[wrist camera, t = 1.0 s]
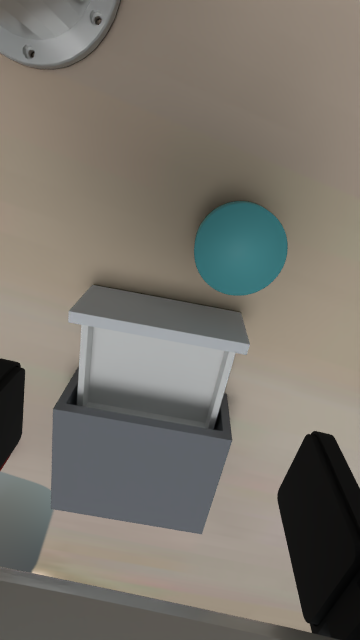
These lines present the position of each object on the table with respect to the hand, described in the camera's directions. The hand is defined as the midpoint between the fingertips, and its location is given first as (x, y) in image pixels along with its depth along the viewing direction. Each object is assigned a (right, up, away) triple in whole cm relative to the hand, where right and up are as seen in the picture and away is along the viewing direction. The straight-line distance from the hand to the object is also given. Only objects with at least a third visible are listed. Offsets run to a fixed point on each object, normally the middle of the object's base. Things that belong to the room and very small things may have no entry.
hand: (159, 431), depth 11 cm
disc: (+5, +10, +16) cm, 20 cm away
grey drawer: (-2, 0, +25) cm, 25 cm away
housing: (-4, -9, +30) cm, 31 cm away
